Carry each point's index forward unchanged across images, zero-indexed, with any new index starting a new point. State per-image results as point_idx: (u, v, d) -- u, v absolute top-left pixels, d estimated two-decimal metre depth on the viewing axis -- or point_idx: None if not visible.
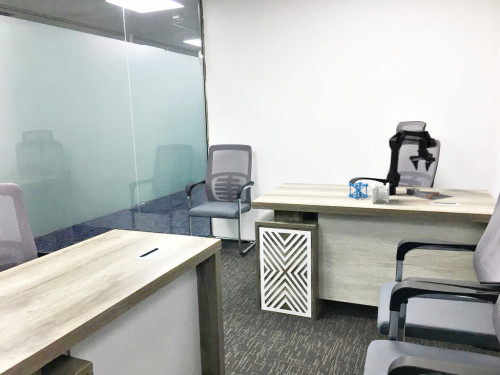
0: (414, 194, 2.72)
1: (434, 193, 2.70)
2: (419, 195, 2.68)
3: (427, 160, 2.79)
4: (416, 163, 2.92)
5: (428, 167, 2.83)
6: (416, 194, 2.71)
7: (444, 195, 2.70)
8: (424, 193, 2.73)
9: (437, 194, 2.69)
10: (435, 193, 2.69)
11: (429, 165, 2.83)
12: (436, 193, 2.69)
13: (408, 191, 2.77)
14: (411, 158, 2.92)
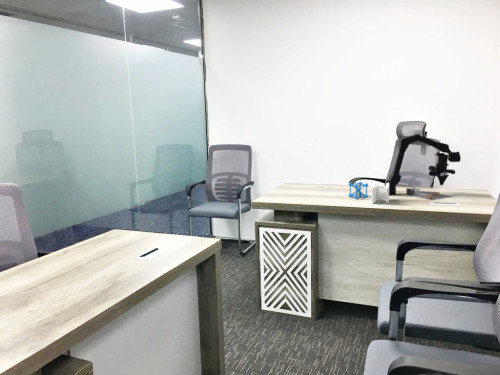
0: (414, 194, 2.72)
1: (434, 193, 2.70)
2: (419, 195, 2.68)
3: (453, 172, 2.72)
4: None
5: None
6: (416, 194, 2.71)
7: (444, 195, 2.70)
8: (424, 193, 2.73)
9: (437, 194, 2.69)
10: (435, 193, 2.69)
11: None
12: (436, 193, 2.69)
13: (408, 191, 2.77)
14: (438, 174, 2.66)
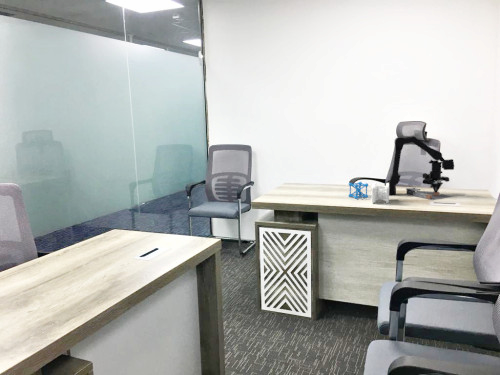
0: (414, 194, 2.72)
1: (434, 193, 2.69)
2: (419, 195, 2.68)
3: (447, 180, 2.71)
4: None
5: None
6: (416, 194, 2.71)
7: (444, 195, 2.70)
8: (424, 193, 2.73)
9: (437, 194, 2.68)
10: (435, 193, 2.69)
11: None
12: (436, 193, 2.69)
13: (408, 191, 2.77)
14: (432, 182, 2.65)
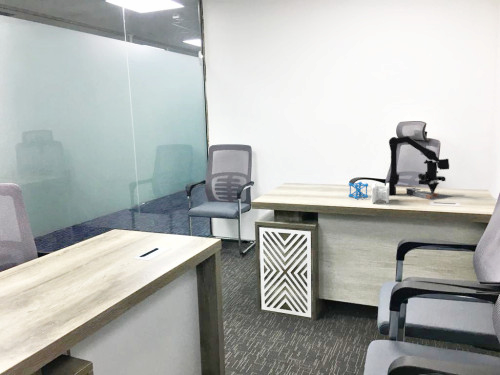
0: (414, 194, 2.72)
1: (432, 194, 2.66)
2: (419, 195, 2.68)
3: (444, 179, 2.68)
4: None
5: None
6: (416, 194, 2.71)
7: (444, 195, 2.70)
8: None
9: (435, 195, 2.65)
10: (434, 194, 2.66)
11: None
12: (434, 194, 2.66)
13: (408, 191, 2.77)
14: (428, 182, 2.62)
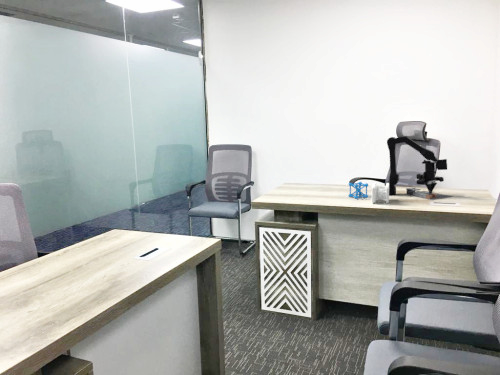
0: (414, 194, 2.72)
1: None
2: (419, 195, 2.68)
3: (442, 180, 2.67)
4: None
5: None
6: (416, 194, 2.71)
7: (444, 195, 2.70)
8: None
9: (433, 196, 2.64)
10: (432, 194, 2.64)
11: None
12: (432, 195, 2.64)
13: (408, 191, 2.77)
14: (426, 182, 2.62)
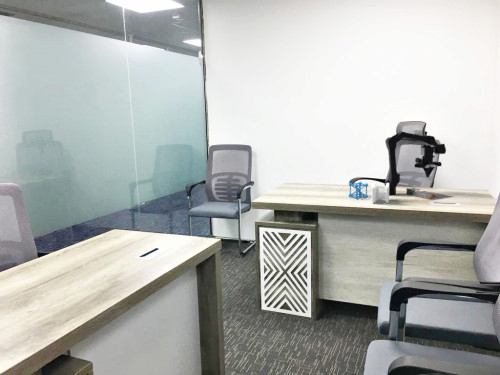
0: (414, 194, 2.72)
1: None
2: (419, 195, 2.68)
3: (440, 165, 2.75)
4: None
5: None
6: (416, 194, 2.71)
7: (444, 195, 2.70)
8: None
9: (433, 196, 2.64)
10: (432, 194, 2.64)
11: None
12: (432, 195, 2.64)
13: (408, 191, 2.77)
14: (423, 166, 2.69)
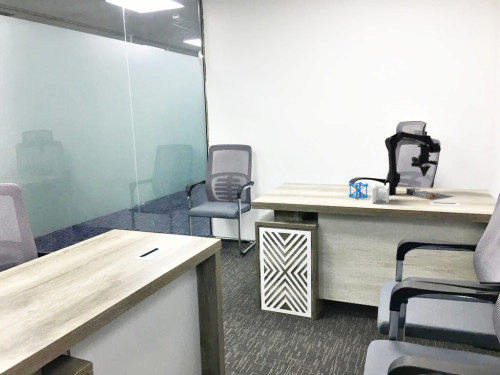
0: (414, 194, 2.72)
1: None
2: (419, 195, 2.68)
3: (435, 163, 2.80)
4: None
5: None
6: (416, 194, 2.71)
7: (444, 195, 2.70)
8: None
9: (433, 196, 2.64)
10: (432, 194, 2.64)
11: None
12: (432, 195, 2.64)
13: (408, 191, 2.77)
14: (420, 165, 2.75)
